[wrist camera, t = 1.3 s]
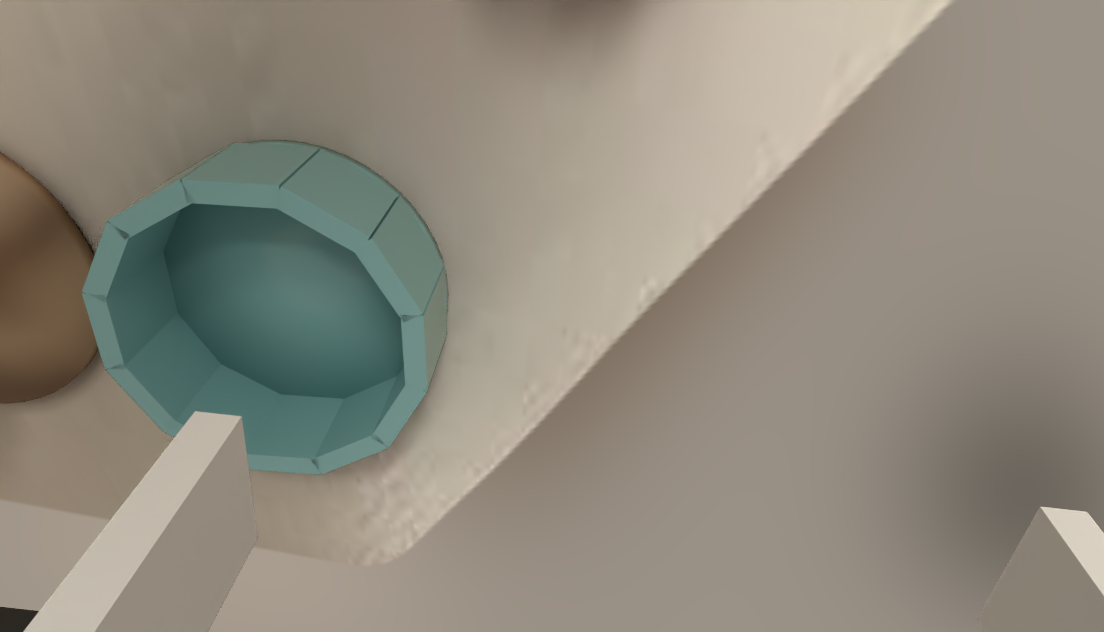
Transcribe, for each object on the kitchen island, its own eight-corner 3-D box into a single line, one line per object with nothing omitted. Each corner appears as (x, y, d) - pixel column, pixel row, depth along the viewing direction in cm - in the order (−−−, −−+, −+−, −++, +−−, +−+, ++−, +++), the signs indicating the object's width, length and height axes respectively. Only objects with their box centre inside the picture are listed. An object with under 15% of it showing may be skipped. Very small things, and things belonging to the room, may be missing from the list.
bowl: (93, 221, 38) (14, 273, 32) (336, 82, 33) (289, 116, 28) (277, 437, 44) (235, 509, 39) (501, 342, 40) (487, 408, 35)
